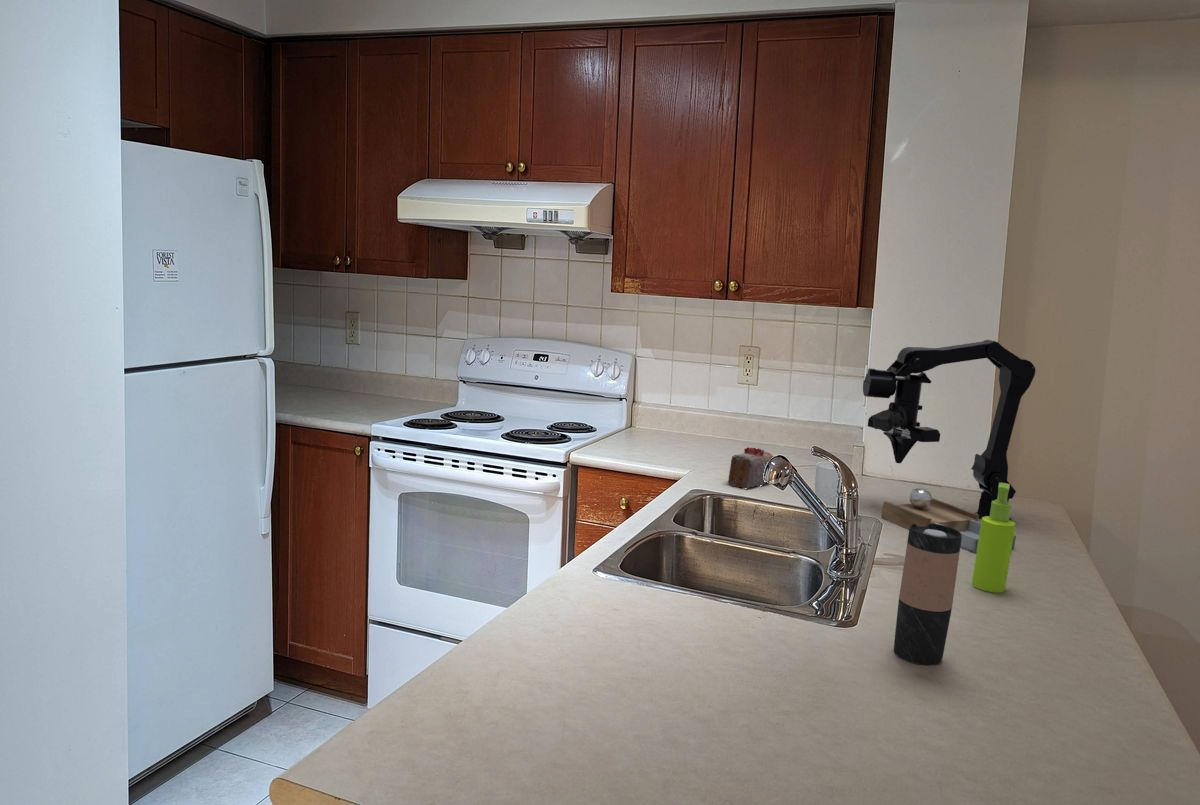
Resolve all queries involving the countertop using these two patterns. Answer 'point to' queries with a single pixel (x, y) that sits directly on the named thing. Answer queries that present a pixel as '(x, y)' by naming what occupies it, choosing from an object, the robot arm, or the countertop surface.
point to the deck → (929, 515)
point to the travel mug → (926, 593)
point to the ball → (920, 497)
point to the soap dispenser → (994, 545)
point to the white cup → (826, 483)
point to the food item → (748, 468)
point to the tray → (973, 537)
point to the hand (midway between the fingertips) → (898, 463)
